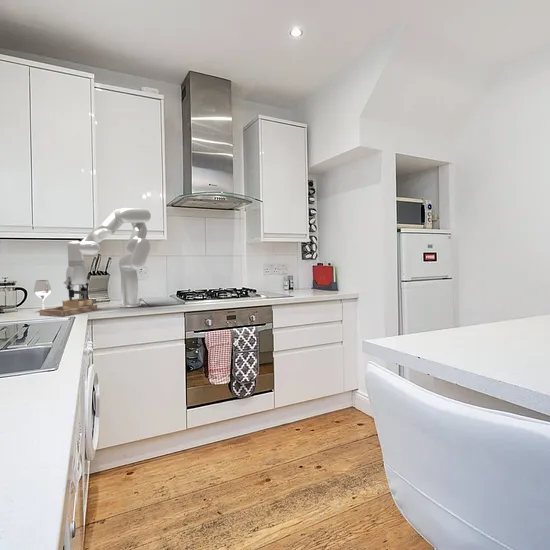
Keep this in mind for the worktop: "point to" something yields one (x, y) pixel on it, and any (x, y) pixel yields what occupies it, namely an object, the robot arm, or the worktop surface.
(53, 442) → the worktop surface
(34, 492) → the worktop surface
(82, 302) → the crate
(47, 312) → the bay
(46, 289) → the wineglass
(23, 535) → the worktop surface
